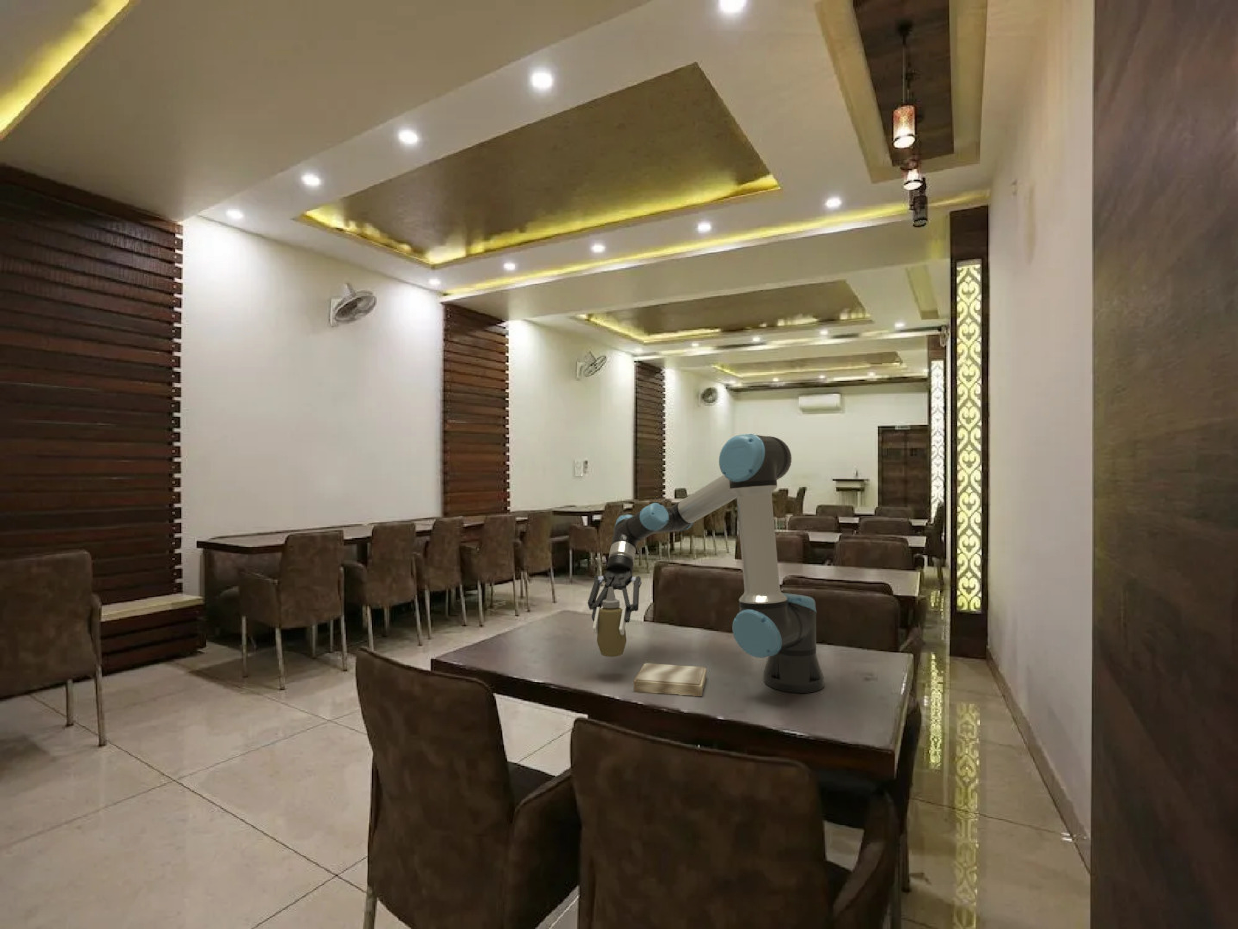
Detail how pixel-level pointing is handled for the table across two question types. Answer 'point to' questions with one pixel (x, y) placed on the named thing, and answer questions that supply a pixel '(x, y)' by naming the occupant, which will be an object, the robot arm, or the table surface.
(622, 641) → the squeeze bottle
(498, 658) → the table surface
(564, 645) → the table surface
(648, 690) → the stand
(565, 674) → the table surface
